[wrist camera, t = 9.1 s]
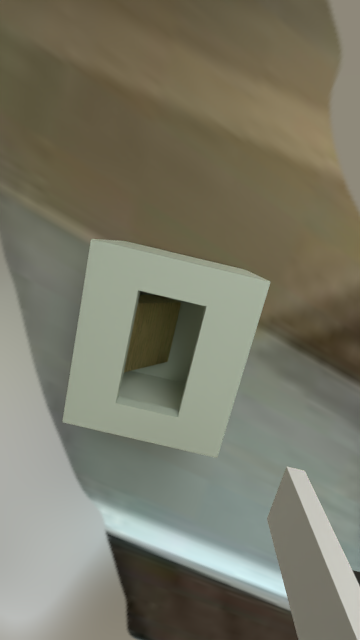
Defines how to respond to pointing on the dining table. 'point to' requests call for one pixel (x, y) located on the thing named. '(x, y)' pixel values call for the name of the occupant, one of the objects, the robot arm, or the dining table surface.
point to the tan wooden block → (152, 331)
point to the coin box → (185, 355)
